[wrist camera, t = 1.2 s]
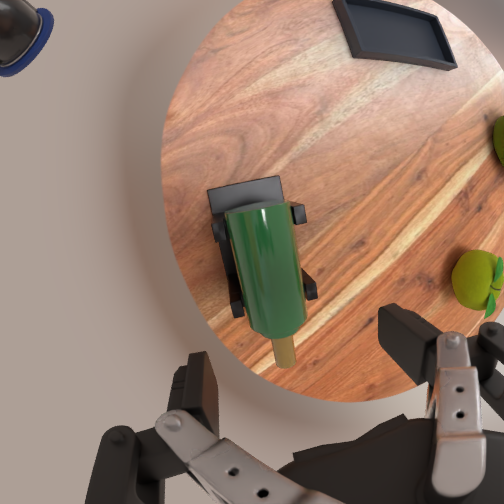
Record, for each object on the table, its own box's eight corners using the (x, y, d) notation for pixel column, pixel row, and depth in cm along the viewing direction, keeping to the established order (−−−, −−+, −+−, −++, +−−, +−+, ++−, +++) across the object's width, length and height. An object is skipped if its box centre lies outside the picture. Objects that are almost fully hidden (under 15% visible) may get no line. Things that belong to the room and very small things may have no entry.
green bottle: (224, 209, 25) (223, 216, 20) (282, 197, 25) (296, 201, 20) (257, 353, 28) (262, 385, 23) (305, 342, 28) (319, 371, 23)
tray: (353, 58, 28) (361, 50, 26) (331, 1, 26) (338, -8, 23) (448, 71, 30) (458, 67, 27) (428, 21, 27) (436, 15, 25)
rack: (207, 189, 31) (202, 191, 22) (277, 175, 31) (299, 172, 22) (234, 305, 34) (239, 343, 25) (297, 290, 35) (321, 323, 26)
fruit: (434, 295, 38) (475, 320, 28) (450, 239, 36) (496, 254, 26) (464, 299, 39) (501, 320, 30) (479, 249, 37) (520, 263, 28)
